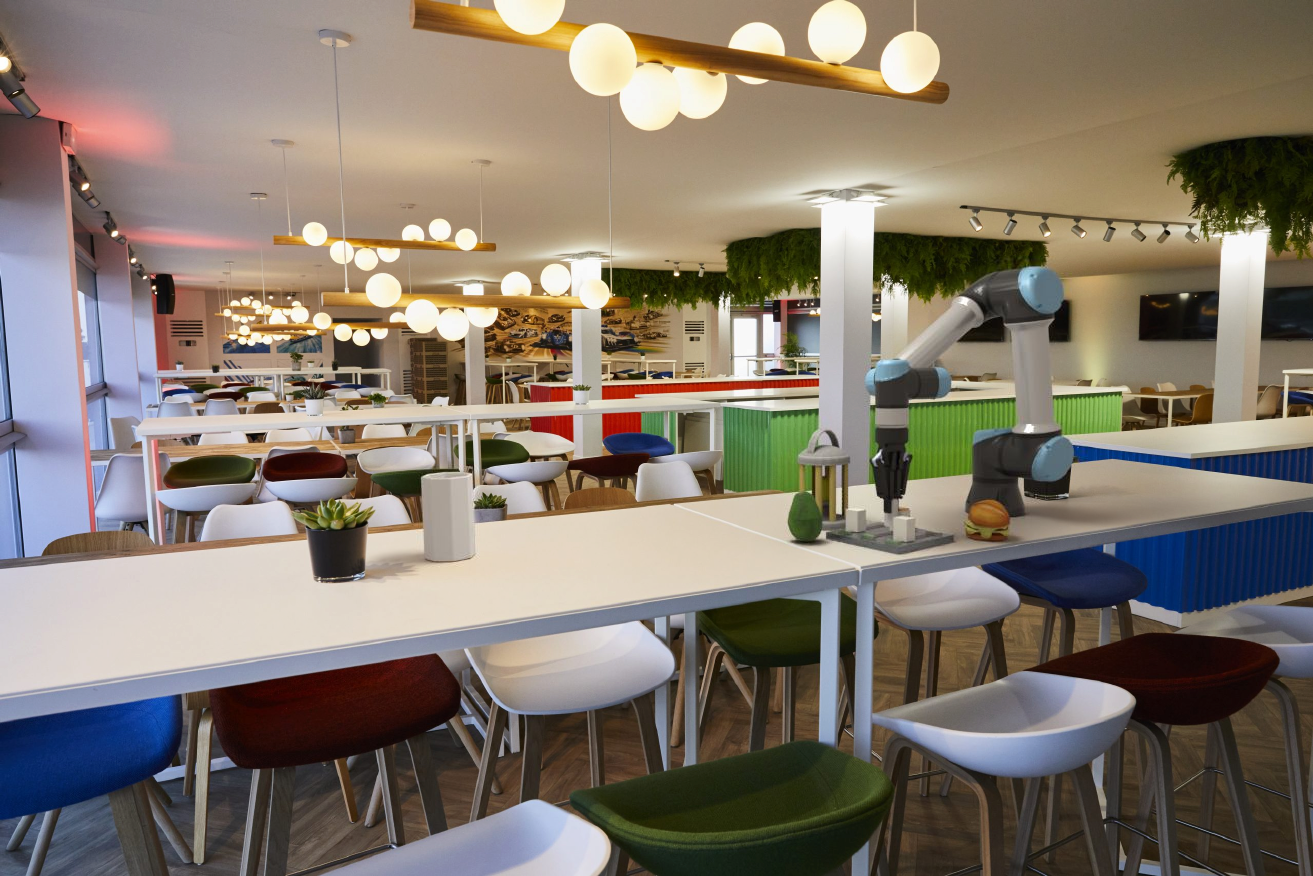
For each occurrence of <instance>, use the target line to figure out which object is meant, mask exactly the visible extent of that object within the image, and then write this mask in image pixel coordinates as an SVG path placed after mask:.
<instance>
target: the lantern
mask: <svg viewBox="0 0 1313 876" xmlns="http://www.w3.org/2000/svg"><path fill="white" fill-rule="evenodd" d="M823 433H825V434H826V435H828V438H829V440H830V443H831V444H829V445H828V444H819V445H817V442H818V439H819V438H820V437H821V435H822V434H823ZM796 460H797V461H796V463H797V464H799V465H798V467H799V468H798V469H799V470H798V471H799V473H798V474H799V475H798V476H799V477H798V478H799V484H798V485H799V486H798V487H799V488H798V489H799V492H801V491H806V466H811V494H812V495H813V497H814V498H815V501H816V503H817V505H818V507H819V510H820V513H821V515H822V523H823V525H822V530H821V532H822V531H826V532H830V531H835V530H838V529H845V528H846V509H849V464H851V457H850V455H849V454H848V453H847V452H846V451H845V450H844V449H842V448H841V447H840V444H839V440H838V437H837V435H836V434H835V432H834V431H832V430H831V429H828V428H819V429H816V430H815V431H814V432H813V433H812V434H811V437H810V439H809V441H808V445H807V448H804V449H803V450H802V451H801V452H800V453H799V454H798V455H797V459H796ZM823 466H824V475H823ZM837 466H841V514H840V513H837ZM799 492H798V493H799Z"/></svg>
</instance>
